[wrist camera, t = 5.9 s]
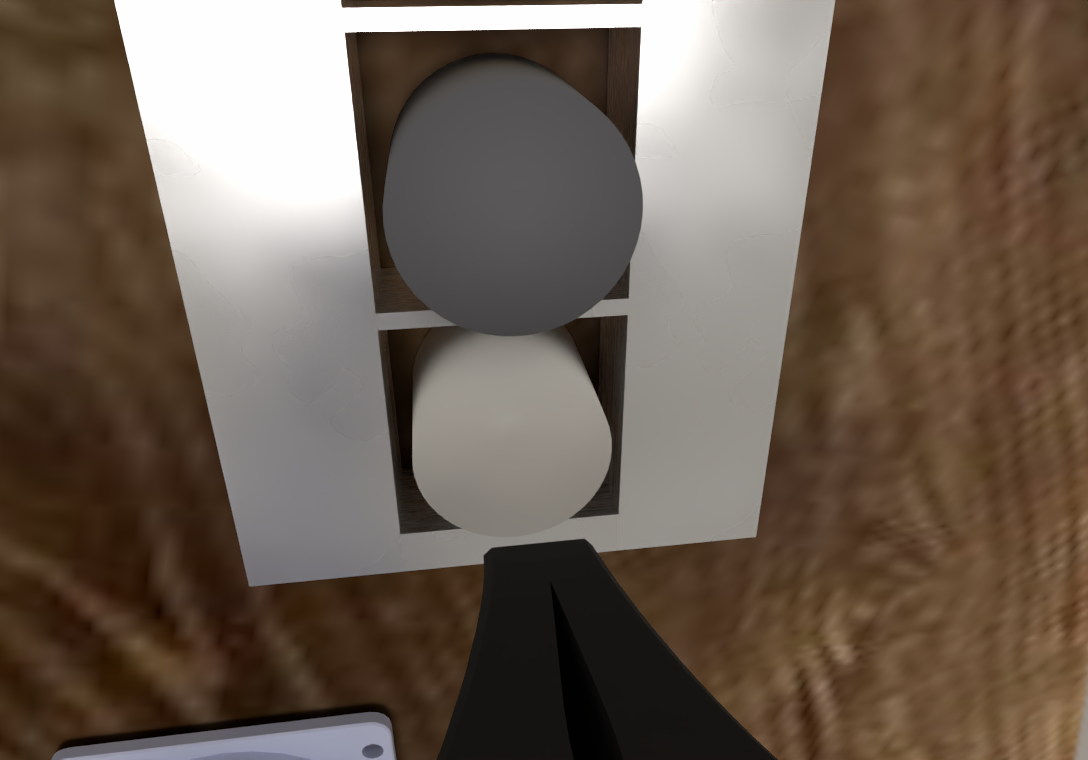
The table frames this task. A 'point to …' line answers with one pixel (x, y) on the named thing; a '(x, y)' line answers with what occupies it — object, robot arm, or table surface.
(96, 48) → the table surface
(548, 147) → the dark grey rounded block
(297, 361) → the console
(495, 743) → the robot arm
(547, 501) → the white button
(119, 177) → the table surface
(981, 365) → the table surface
